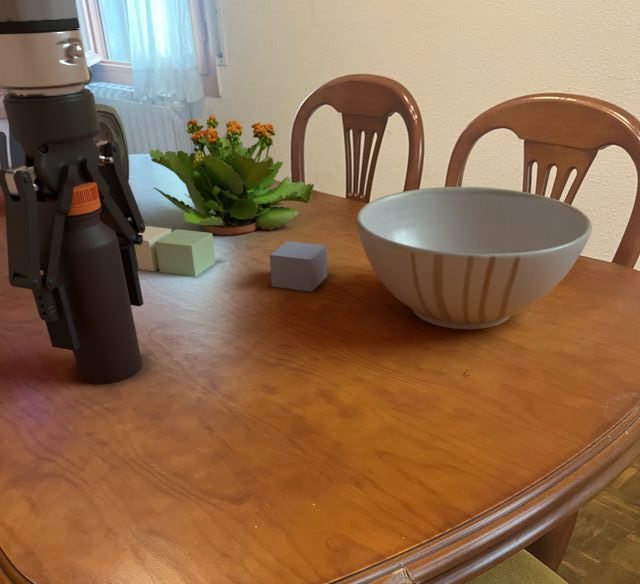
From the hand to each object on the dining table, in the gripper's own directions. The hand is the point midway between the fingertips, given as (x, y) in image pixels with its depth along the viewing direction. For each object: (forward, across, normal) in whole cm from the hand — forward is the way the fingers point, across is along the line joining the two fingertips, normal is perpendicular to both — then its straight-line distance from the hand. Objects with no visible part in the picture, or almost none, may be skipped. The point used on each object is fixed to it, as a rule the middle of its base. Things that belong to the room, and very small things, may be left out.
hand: (100, 324), depth 69 cm
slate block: (+6, +30, -10) cm, 32 cm away
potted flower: (+6, +50, +12) cm, 52 cm away
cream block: (+6, +30, +15) cm, 34 cm away
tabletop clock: (+6, +54, +42) cm, 69 cm away
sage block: (+6, +30, +8) cm, 32 cm away
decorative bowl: (+6, +28, -33) cm, 44 cm away
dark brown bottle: (+6, 0, 0) cm, 6 cm away
